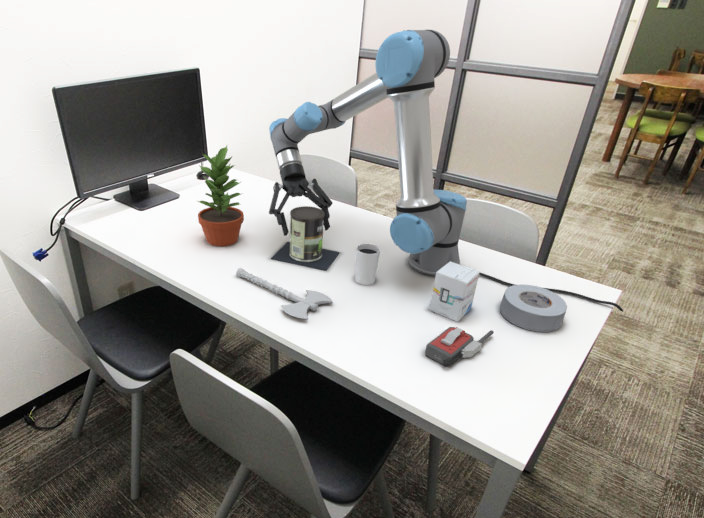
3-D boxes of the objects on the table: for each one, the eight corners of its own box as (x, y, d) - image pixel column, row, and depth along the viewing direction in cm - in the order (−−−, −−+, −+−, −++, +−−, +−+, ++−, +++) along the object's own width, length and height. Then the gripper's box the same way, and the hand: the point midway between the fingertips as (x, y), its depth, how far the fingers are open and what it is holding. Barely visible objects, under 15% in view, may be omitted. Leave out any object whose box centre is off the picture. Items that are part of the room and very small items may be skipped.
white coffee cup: (379, 278, 145) (384, 247, 140) (370, 288, 140) (374, 256, 135) (359, 272, 148) (362, 241, 142) (349, 281, 143) (352, 250, 137)
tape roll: (570, 316, 131) (577, 300, 128) (546, 339, 122) (552, 322, 119) (515, 294, 140) (520, 278, 137) (488, 313, 131) (493, 297, 128)
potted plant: (191, 246, 158) (182, 152, 142) (210, 228, 171) (204, 139, 155) (235, 253, 155) (231, 157, 140) (251, 234, 168) (249, 144, 152)
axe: (221, 284, 139) (220, 276, 138) (255, 267, 148) (255, 259, 147) (303, 325, 123) (303, 317, 122) (336, 303, 132) (337, 296, 131)
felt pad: (339, 253, 158) (339, 252, 158) (326, 270, 148) (326, 269, 147) (287, 242, 163) (287, 241, 163) (271, 259, 153) (271, 257, 153)
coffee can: (324, 249, 159) (327, 208, 151) (318, 264, 150) (321, 220, 143) (293, 245, 160) (294, 204, 153) (285, 260, 152) (286, 216, 144)
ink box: (442, 297, 137) (450, 260, 131) (471, 309, 132) (481, 270, 126) (427, 310, 131) (435, 271, 125) (457, 322, 127) (467, 283, 120)
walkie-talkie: (453, 374, 109) (495, 337, 121) (457, 359, 107) (499, 323, 119) (419, 356, 114) (462, 323, 127) (422, 341, 112) (466, 308, 124)
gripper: (323, 170, 162) (339, 230, 158) (250, 177, 154) (265, 241, 150) (331, 158, 155) (348, 221, 151) (254, 165, 147) (271, 231, 143)
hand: (307, 231), depth 151 cm, fingers open, 13 cm apart
